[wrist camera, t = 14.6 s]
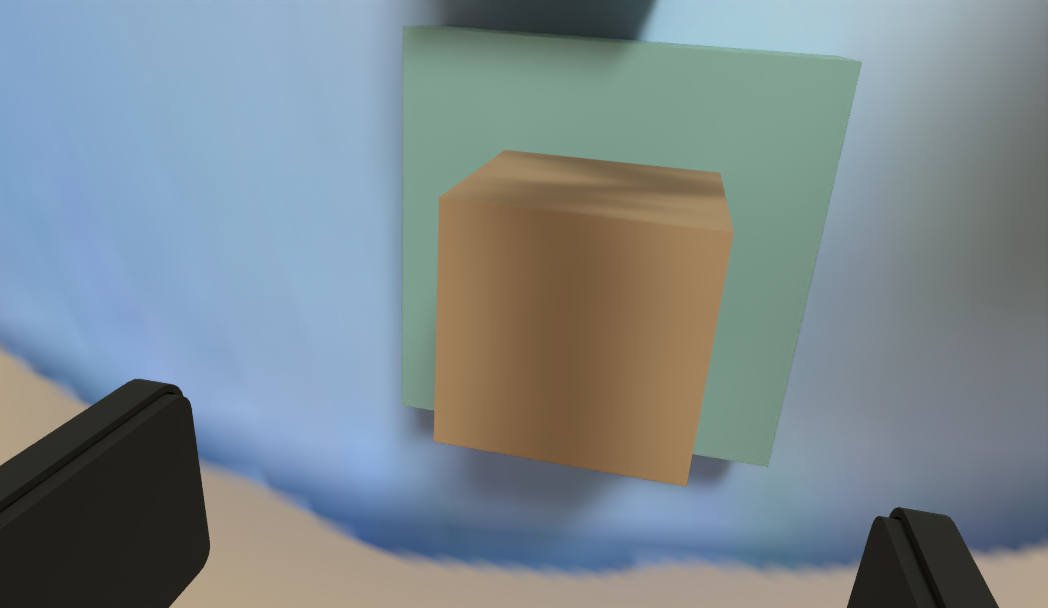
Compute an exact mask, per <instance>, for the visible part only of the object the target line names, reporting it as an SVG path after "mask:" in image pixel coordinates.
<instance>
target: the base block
mask: <svg viewBox="0 0 1048 608" xmlns="http://www.w3.org/2000/svg"><path fill="white" fill-rule="evenodd" d="M861 64H862V62H860V61H856V60H851V59H847V58H842V57H838V56H831V55H818V54H805V53H792V52H779V51H766V50H753V49H740V48H727V47H714V46H701V45H688V44H675V43H662V42H649V41H636V40H623V39H610V38H597V37H585V36H572V35H559V34H546V33H533V32H520V31H507V30H494V29H481V28H468V27H455V26H403V170H402V405H403V406H409V407H415V408H421V409H427V410H433V411H434V401H435V358H436V315H437V272H438V229H439V197H440V196H442V195H443V194H444V193H446V192H447V191H448V190H450V189H451V188H453V187H454V186H455V185H457V184H458V183H460V182H461V181H462V180H464V179H465V178H467V177H468V176H469V175H471V174H472V173H474V172H475V171H476V170H478V169H479V168H480V167H482V166H483V165H485V164H486V163H487V162H489V161H490V160H492V159H493V158H494V157H496V156H497V155H499V154H500V153H501V152H503V151H504V150H512V151H521V152H530V153H540V154H549V155H558V156H568V157H577V158H586V159H596V160H605V161H614V162H624V163H633V164H642V165H652V166H661V167H670V168H680V169H689V170H698V171H708V172H717V173H720V174H721V178H722V182H723V187H724V191H725V196H726V200H727V205H728V209H729V214H730V218H731V222H732V227H733V231H734V234H733V239H732V245H731V250H730V256H729V261H728V266H727V272H726V277H725V282H724V288H723V293H722V299H721V304H720V309H719V315H718V320H717V325H716V331H715V336H714V342H713V347H712V352H711V358H710V363H709V368H708V374H707V379H706V385H705V390H704V395H703V401H702V406H701V411H700V417H699V422H698V428H697V433H696V438H695V444H694V449H693V454H694V455H700V456H706V457H712V458H718V459H724V460H730V461H736V462H742V463H748V464H754V465H760V466H766V467H768V464H769V459H770V455H771V451H772V446H773V442H774V438H775V433H776V429H777V425H778V421H779V416H780V412H781V408H782V403H783V399H784V395H785V390H786V386H787V382H788V378H789V373H790V369H791V365H792V360H793V356H794V352H795V347H796V343H797V339H798V335H799V330H800V326H801V322H802V317H803V313H804V309H805V304H806V300H807V296H808V291H809V287H810V283H811V279H812V274H813V270H814V266H815V261H816V257H817V253H818V248H819V244H820V240H821V236H822V231H823V227H824V223H825V218H826V214H827V210H828V205H829V201H830V197H831V193H832V188H833V184H834V180H835V175H836V171H837V167H838V162H839V158H840V154H841V150H842V145H843V141H844V137H845V132H846V128H847V124H848V119H849V115H850V111H851V107H852V102H853V98H854V94H855V89H856V85H857V81H858V76H859V72H860V68H861Z"/></svg>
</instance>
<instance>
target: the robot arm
mask: <svg viewBox="0 0 1048 608" xmlns="http://www.w3.org/2000/svg"><path fill="white" fill-rule="evenodd" d="M209 551H210V540H209V532H208V525H207V518H206V511H205V503H204V496H203V488H202V481H201V474H200V466H199V459H198V452H197V444H196V437H195V430H194V422H193V415H192V408H191V404H190V401H189V400H188V399H187V398H186V397H183V394H182V391H181V390H180V389H179V387H177V386H175V385H173V384H167V383H161V382H155V381H149V380H144V379H134V380H132V381H129V382H127V383H126V384H124V385H123V386H121V387H120V388H118V389H117V390H115V391H114V392H112V393H111V394H109V395H108V396H106V397H105V398H103V399H101V400H100V401H98V402H97V403H95V404H94V405H92V406H91V407H89V408H88V409H86V410H85V411H83V412H82V413H80V414H79V415H77V416H75V417H74V418H72V419H71V420H70V421H68V422H66V423H65V424H63V425H62V426H60V427H59V428H57V429H56V430H54V431H53V432H51V433H50V434H48V435H47V436H45V437H43V438H42V439H40V440H39V441H37V442H36V443H34V444H33V445H31V446H30V447H28V448H27V449H25V450H24V451H22V452H20V453H19V454H18V455H16V456H14V457H13V458H11V459H10V460H8V461H7V462H5V463H4V464H3V465H1V466H0V608H169V607H170V605H171V604H172V603H173V602H174V601H175V600H176V599H177V598H178V596H179V595H180V594H181V593H182V592H183V591H184V590H185V588H186V587H187V586H188V585H189V584H190V583H191V582H192V580H193V579H194V578H195V577H196V576H197V575H198V574H199V572H200V571H201V570H202V568H203V567H204V565H205V563H206V561H207V558H208V555H209ZM847 608H999V607H998V605H997V603H996V601H995V599H994V597H993V596H992V594H991V592H990V590H989V588H988V586H987V584H986V582H985V580H984V579H983V577H982V575H981V573H980V571H979V569H978V567H977V565H976V563H975V562H974V560H973V558H972V556H971V554H970V552H969V550H968V548H967V546H966V544H965V543H964V541H963V539H962V537H961V535H960V533H959V531H958V529H957V527H956V526H955V524H954V522H953V521H952V519H951V518H950V517H948V516H946V515H941V514H936V513H930V512H924V511H918V510H912V509H906V508H900V507H898V508H895V509H894V510H893V511H892V512H891V514H890V516H889V518H887V517H882V516H878V517H876V518H875V520H874V522H873V524H872V527H871V530H870V533H869V536H868V540H867V543H866V546H865V550H864V553H863V556H862V560H861V563H860V566H859V569H858V573H857V576H856V579H855V583H854V586H853V589H852V593H851V596H850V599H849V602H848V606H847Z"/></svg>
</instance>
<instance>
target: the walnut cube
mask: <svg viewBox="0 0 1048 608" xmlns="http://www.w3.org/2000/svg"><path fill="white" fill-rule="evenodd" d="M733 234H734V231H733V227H732V222H731V218H730V214H729V209H728V205H727V200H726V196H725V191H724V187H723V182H722V178H721V174H720V173H717V172H708V171H698V170H689V169H680V168H670V167H661V166H652V165H642V164H633V163H624V162H614V161H605V160H596V159H586V158H577V157H568V156H558V155H549V154H540V153H530V152H521V151H512V150H504V151H503V152H501V153H500V154H499V155H497V156H496V157H494V158H493V159H492V160H490V161H489V162H487V163H486V164H485V165H483V166H482V167H480V168H479V169H478V170H476V171H475V172H474V173H472V174H471V175H469V176H468V177H467V178H465V179H464V180H462V181H461V182H460V183H458V184H457V185H455V186H454V187H453V188H451V189H450V190H448V191H447V192H446V193H444V194H443V195H442V196H440V197H439V229H438V272H437V315H436V358H435V401H434V442H440V443H445V444H451V445H456V446H462V447H468V448H473V449H479V450H484V451H490V452H496V453H501V454H507V455H512V456H518V457H523V458H529V459H535V460H540V461H546V462H551V463H557V464H563V465H568V466H574V467H579V468H585V469H590V470H596V471H602V472H607V473H613V474H618V475H624V476H630V477H635V478H641V479H646V480H652V481H658V482H663V483H669V484H674V485H680V486H685V487H687V481H688V476H689V470H690V465H691V460H692V454H693V449H694V444H695V438H696V433H697V428H698V422H699V417H700V411H701V406H702V401H703V395H704V390H705V385H706V379H707V374H708V368H709V363H710V358H711V352H712V347H713V342H714V336H715V331H716V325H717V320H718V315H719V309H720V304H721V299H722V293H723V288H724V282H725V277H726V272H727V266H728V261H729V256H730V250H731V245H732V239H733Z"/></svg>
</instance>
